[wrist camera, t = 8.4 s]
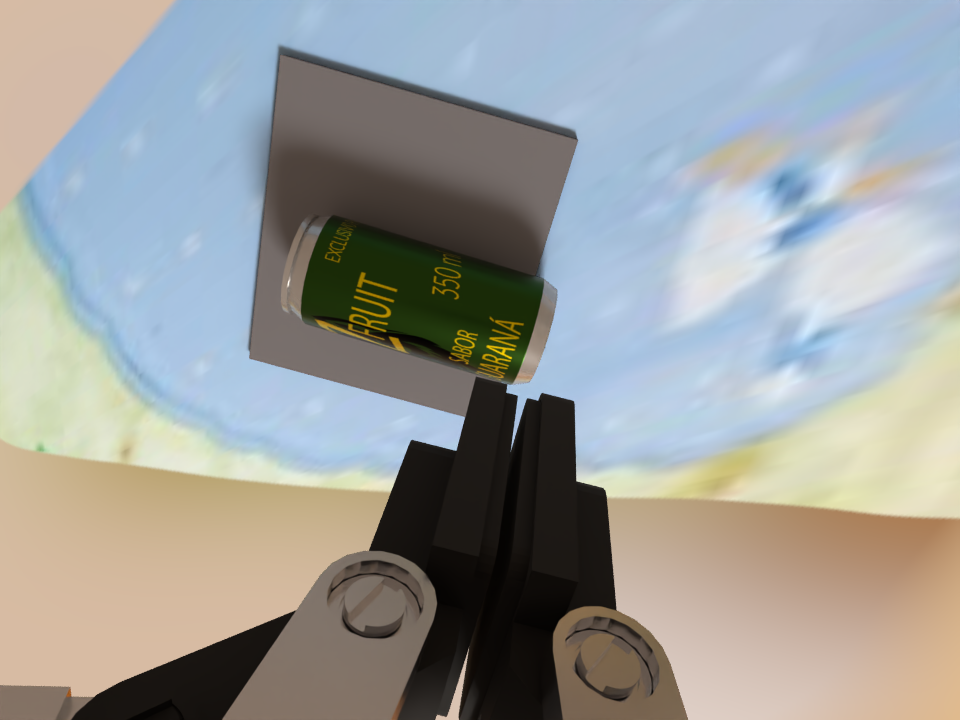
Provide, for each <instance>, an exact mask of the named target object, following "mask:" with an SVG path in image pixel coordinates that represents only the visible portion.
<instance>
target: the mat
mask: <svg viewBox="0 0 960 720" xmlns="http://www.w3.org/2000/svg"><path fill="white" fill-rule="evenodd" d="M577 142H578V139H575V138H571V137H568V136H564V135H561V134H558V133H554V132H551V131H547V130H544V129H540V128H537V127H533V126H530V125H526V124H523V123H519V122H516V121H512V120H509V119H505V118H502V117H498V116H495V115H491V114H488V113H484V112H481V111H478V110H474V109H471V108H467V107H464V106H460V105H457V104H453V103H450V102H446V101H443V100H439V99H436V98H432V97H429V96H425V95H422V94H418V93H415V92H411V91H408V90H404V89H401V88H398V87H394V86H391V85H387V84H384V83H380V82H377V81H373V80H370V79H366V78H363V77H359V76H356V75H352V74H349V73H345V72H342V71H338V70H335V69H331V68H328V67H325V66H321V65H318V64H314V63H311V62H307V61H304V60H300V59H297V58H293V57H290V56H286V55H280V65H279V74H278V84H277V94H276V103H275V113H274V123H273V133H272V142H271V152H270V162H269V171H268V181H267V191H266V200H265V210H264V220H263V230H262V239H261V249H260V259H259V268H258V278H257V288H256V297H255V307H254V317H253V327H252V336H251V346H250V356H249V359H253V360H257V361H260V362H264V363H268V364H272V365H275V366H279V367H283V368H286V369H290V370H294V371H297V372H301V373H305V374H308V375H312V376H316V377H320V378H323V379H327V380H331V381H334V382H338V383H342V384H345V385H349V386H353V387H356V388H360V389H364V390H368V391H371V392H375V393H379V394H382V395H386V396H390V397H393V398H397V399H401V400H405V401H408V402H412V403H416V404H419V405H423V406H427V407H430V408H434V409H438V410H441V411H445V412H449V413H453V414H456V415H460V416H464V417H466V413H467V409H468V405H469V401H470V397H471V393H472V390H473V386H474V382H475V378H476V376H477V377H481V378H484V379H488V380H492V379H489V378H486V377H482V376H479V375H476V374H472V373H469V372H465V371H462V370H459V369H455V368H452V367H449V366H445V365H442V364H438V363H435V362H432V361H428V360H425V359H422V358H418V357H415V356H411V355H408V354H405V353H401V352H398V351H394V350H391V349H388V348H384V347H381V346H378V345H374V344H371V343H367V342H364V341H361V340H357V339H354V338H351V337H347V336H344V335H340V334H337V333H334V332H330V331H327V330H324V329H320V328H317V327H313V326H310V325H307V324H305V323H304V322H302V321H301V320H300V319H299V318H298V317H297V316H296V315H295V314H293V315H290V314H287V313H285V312H284V311H283V309H282V304H281V287H282V280H283V274H284V269H285V265H286V261H287V257H288V254H289V251H290V248H291V246H292V243H293V240H294V238H295V236H296V233H297V231H298V229H299V227H300V225H301V224H302V222H303V221H304V220H305V218H306V217H307V216H308V215H310V214H311V213H313V214H317V215H320V216H321V217H323V216H329V215H336V216H340V217H343V218H346V219H350V220H353V221H356V222H359V223H363V224H366V225H369V226H373V227H376V228H379V229H382V230H386V231H389V232H392V233H396V234H399V235H402V236H405V237H409V238H412V239H415V240H418V241H422V242H425V243H428V244H432V245H435V246H438V247H441V248H445V249H448V250H451V251H455V252H458V253H461V254H464V255H468V256H471V257H474V258H478V259H481V260H484V261H487V262H491V263H494V264H497V265H501V266H504V267H507V268H510V269H514V270H517V271H520V272H524V273H527V274H530V275H533V276H535V275H536V272H537V269H538V266H539V262H540V259H541V256H542V253H543V250H544V247H545V243H546V240H547V237H548V234H549V231H550V228H551V224H552V221H553V218H554V215H555V212H556V209H557V205H558V202H559V199H560V196H561V193H562V190H563V187H564V183H565V180H566V177H567V174H568V171H569V168H570V164H571V161H572V158H573V155H574V152H575V149H576V145H577ZM492 381H496V380H492ZM496 382H499V381H496ZM500 383H502V382H500Z"/></svg>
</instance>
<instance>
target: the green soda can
mask: <svg viewBox="0 0 960 720" xmlns="http://www.w3.org/2000/svg"><path fill="white" fill-rule="evenodd" d="M556 302H557V289H556V288H554V287H553V286H552V285H551V284H550V283H549V282H547V281H546V280H545V279H543V278H540V277H537V276H533V275H530V274H527V273H524V272H520V271H517V270H514V269H510V268H507V267H504V266H501V265H497V264H494V263H491V262H487V261H484V260H481V259H478V258H474V257H471V256H468V255H464V254H461V253H458V252H455V251H451V250H448V249H445V248H441V247H438V246H435V245H432V244H428V243H425V242H422V241H418V240H415V239H412V238H409V237H405V236H402V235H399V234H396V233H392V232H389V231H386V230H382V229H379V228H376V227H373V226H369V225H366V224H363V223H359V222H356V221H353V220H350V219H346V218H343V217H340V216H336V215H329V216H323V217H321V216H320V215H317V214H313V213H311V214H310V215H308V216H307V217H306V218H305V220H304V221H303V222H302V224H301V225H300V227H299V229H298V231H297V233H296V236H295V238H294V240H293V243H292V246H291V248H290V251H289V254H288V257H287V261H286V265H285V269H284V274H283V280H282V287H281V304H282V309H283V311H284V312H285V313H287V314H290V315H293V314H295V315H296V316H297V317H298V318H299V319H300V320H301V321H302V322H304V323H305V324H307V325H310V326H313V327H317V328H320V329H324V330H327V331H330V332H334V333H337V334H340V335H344V336H347V337H351V338H354V339H357V340H361V341H364V342H367V343H371V344H374V345H378V346H381V347H384V348H388V349H391V350H394V351H398V352H401V353H405V354H408V355H411V356H415V357H418V358H422V359H425V360H428V361H432V362H435V363H438V364H442V365H445V366H449V367H452V368H455V369H459V370H462V371H465V372H469V373H472V374H476V375H479V376H482V377H486V378H489V379H492V380H496V381H499V382H503V383H506V384H509V385H515V384H524V383H528V382H530V381H531V379H532V377H533V376H534V374H535V371H536V369H537V367H538V364H539V362H540V359H541V356H542V354H543V351H544V348H545V345H546V342H547V339H548V336H549V332H550V328H551V325H552V321H553V317H554V313H555V308H556Z"/></svg>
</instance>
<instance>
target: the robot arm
mask: <svg viewBox="0 0 960 720" xmlns="http://www.w3.org/2000/svg"><path fill="white" fill-rule="evenodd" d="M506 390H507V384H504V383H500V382H496V381H492V380H488V379H484V378H481V377H477V376H476V378H475V382H474V386H473V390H472V393H471V397H470V401H469V405H468V409H467V413H466V417H465V420H464V424H463V428H462V432H461V436H460V440H459V444H458V447H457V451H454V450H450V449H446V448H442V447H438V446H434V445H430V444H426V443H422V442H418V441H414V440H411V442H410V444H409V446H408V449H407V451H406V454H405V457H404V459H403V462H402V465H401V467H400V470H399V473H398V475H397V478H396V481H395V483H394V486H393V488H392V491H391V494H390V496H389V499H388V502H387V505H386V507H385V510H384V512H383V515H382V518H381V520H380V523H379V525H378V528H377V531H376V533H375V536H374V539H373V541H372V544H371V547H370V549H369V551H362V552H358V553H354V554H350V555H346V556H344V557H342V558H341V559H339V560H337V561H335V562H333V563H332V564H331V565H330V566H329V567H328V568H327V569H326V570H325V571H324V572H323V573H322V574H321V575H320V576H319V578H318V580H317V581H316V582H315V584H314V585H313V587H312V588H311V590H310V591H309V593H308V594H307V595H306V597H305V598H304V600H303V601H302V603H301V604H300V606H299V607H298V609H297V610H296V611H293V612H291V613H288V614H286V615H283V616H281V617H278V618H276V619H274V620H271V621H269V622H266V623H264V624H261V625H259V626H256V627H254V628H252V629H249V630H247V631H244V632H242V633H239V634H237V635H235V636H232V637H229V638H227V639H225V640H222V641H220V642H217V643H215V644H212V645H210V646H207V647H205V648H203V649H200V650H198V651H195V652H193V653H190V654H188V655H186V656H183V657H181V658H178V659H176V660H173V661H171V662H168V663H166V664H163V665H161V666H158V667H156V668H154V669H151V670H149V671H146V672H144V673H141V674H139V675H137V676H134V677H132V678H129V679H127V680H124V681H122V682H120V683H118V684H116V685H114V686H112V687H110V688H108V689H107V690H105V691H103V692H101V693H99V694H97V695H96V696H95V697H71V689H70V687H51V686H3V685H0V720H435V719H436V716H437V715H441V716H445V717H447V715H448V712H449V709H450V705H451V703H452V699H453V696H454V693H455V690H456V686H457V684H458V680H459V677H460V674H461V670H462V668H463V664H464V661H465V658H466V655H467V652H468V649H469V652H468V659H467V665H466V671H465V678H464V684H463V691H462V697H461V704H460V710H459V720H688V718H687V715H686V711H685V708H684V705H683V702H682V699H681V696H680V692H679V689H678V686H677V683H676V680H675V677H674V674H673V671H672V667H671V664H670V662H669V660H668V658H667V656H666V654H665V652H664V649H663V647H662V646H661V645H660V644H659V642H658V641H657V640H656V639H655V637H654V636H653V635H652V634H651V632H649V631H648V630H647V629H646V628H644V627H643V626H642V625H641V624H639V623H638V622H637V621H636V620H634V619H633V618H631V617H629V616H627V615H625V614H622V613H621V612H619V611H617V610H616V599H615V587H614V575H613V564H612V553H611V542H610V530H609V519H608V507H607V496H606V491H605V490H604V489H603V488H601V487H597V486H593V485H589V484H585V483H581V482H577V481H576V447H575V404H574V401H572V400H568V399H564V398H560V397H556V396H552V395H548V394H544V393H542V394H541V395H540V398H539V400H538V401H537V400H533V399H529V398H527V400H526V403H525V406H524V409H523V413H522V416H521V419H520V423H519V426H518V429H517V433H516V436H515V440H514V443H513V446H512V450H511V444H512V436H513V429H514V421H515V414H516V406H517V398H518V396H517V395H513V394H509V393H506ZM510 452H511V453H510Z"/></svg>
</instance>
